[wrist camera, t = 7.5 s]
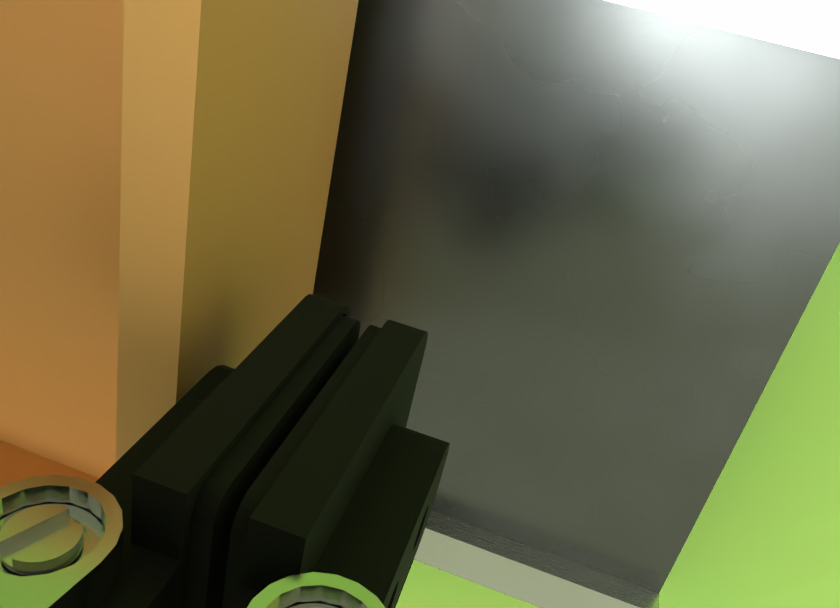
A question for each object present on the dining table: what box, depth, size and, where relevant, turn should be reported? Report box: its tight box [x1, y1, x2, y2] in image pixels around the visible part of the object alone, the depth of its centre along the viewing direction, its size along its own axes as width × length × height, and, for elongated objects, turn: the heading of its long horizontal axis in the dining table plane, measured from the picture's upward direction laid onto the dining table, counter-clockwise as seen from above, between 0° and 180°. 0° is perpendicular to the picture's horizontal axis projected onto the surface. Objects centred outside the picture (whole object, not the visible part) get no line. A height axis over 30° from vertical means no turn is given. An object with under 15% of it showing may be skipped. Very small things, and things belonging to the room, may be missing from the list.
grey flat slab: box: [313, 0, 840, 608], centre depth 15 cm, size 20×13×2 cm, turn 78°
